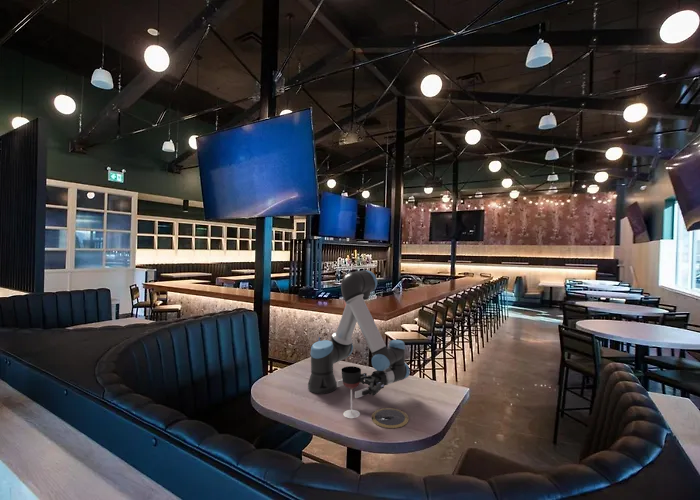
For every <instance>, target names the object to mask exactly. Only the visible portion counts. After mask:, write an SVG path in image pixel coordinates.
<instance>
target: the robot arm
mask: <svg viewBox="0 0 700 500" xmlns="http://www.w3.org/2000/svg"><path fill="white" fill-rule="evenodd" d="M377 286H378V278H377V276H376V275H375V273H374V272H372V271H371V270H368V269H367V270H366V269H362V270H359V271H350V272H348V273H346V274H345V275H344V276H343V277H342V279H341V283H340V289H341V295H342V298H343V300H344V302H345V306H344V309H343V312H342V316H341V318H340V321H339V324H338V326H337V329H336V331H334V332H332V336H331V338H330V340H328V339H327V340H326V339H324V340H320V341H319V340H318V341H316V342H314V343H313V344H312V345H311V347H310V377H309V379H308V383H307V390H308V391H309V392H311V393H312V394H313V393H314V394H318V395H319V394H322V395H323V394H328V393H332V392H334V391H336V389H337V388H339V387H343V386H344V384H343V380H342V378H341V379H338V380H336V376H335V373H334V364H337V363H338V362H342V361H343V360H346V359H347V358H348V357H350V356H351V355H352V353H353V351H354V345H353V338H352V335H353V333H354V331H355V327H356V325H357V324H358V327H359V329H360V331H361V333H362V335H363V338H364V339H365V342H366V344H367V347H368V348H369V350H370V352H371V355H372V357H371V365H372V367H373V369H375V370H374V371H372V373H371V374H369V375H367V373H366V372H364V373H361V378H360V383H361V384H363V385H368V387H364V388H361V389H358V390H356V391H354V399H358V398H361V397H363V396H364V397H365V396H366V395H367V396H368V395H371V396H373V397H374V396H376V395H377V394H378V393H379V391H380V390H383V389H384V387H385V386H388V385H390V384H393V383H397V382H400V381H403V380H405V379H407V378H408V377H409V376H410V374H411V371H410V370H411V369H410V367H409V365H408V364H407V363H406V348H405V347H406V345H405V342H404V341H403V340H402V339H401V340H400V339H392V340H390V341H389V344H388V346H389V347H387V345H386V343H385V340H384V338H383V337H382V335H381V332H380V330H379V329H378V326H377V325H376V323H375V321H374V317H373V316H372V313H371V312H370V309H369V308H368V306H367V304H366V302H365V301H367V300H369V298H370V295H371V293H372V292H374V291H375V290H376V288H377ZM360 383H359V384H360Z"/></svg>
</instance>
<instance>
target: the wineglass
mask: <svg viewBox="0 0 700 500" xmlns="http://www.w3.org/2000/svg"><path fill="white" fill-rule="evenodd" d="M361 374H362V369H361V368H360V367H359V366H351V365H350V366H344V367H342V368H341V379H342V380H343V384H344V385H343V386H345V388H347V389H349V390H350V409H347V410H345V411H344V412H343V417H345V418H348V419H355V418H358V417H360V415H361V412H360V411H358V410H356V409H353V389H355V388H357V387H359V385H360V378H361Z"/></svg>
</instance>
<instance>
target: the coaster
mask: <svg viewBox="0 0 700 500" xmlns="http://www.w3.org/2000/svg"><path fill="white" fill-rule="evenodd" d="M371 421H372V422H373V424H375V425H376V426H378V427H381V428H385V429H400V428H402V427H405V426H406V425H407V424H408V422H409V421H410V419H409V415H408V414H407V413H406V412H405V411H404V410H403V411H402V410H400V409H399V408H393V407H384V408H380V409H379V408H378V409H376V410H375V411H374V412H373V413H372V414H371Z"/></svg>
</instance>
